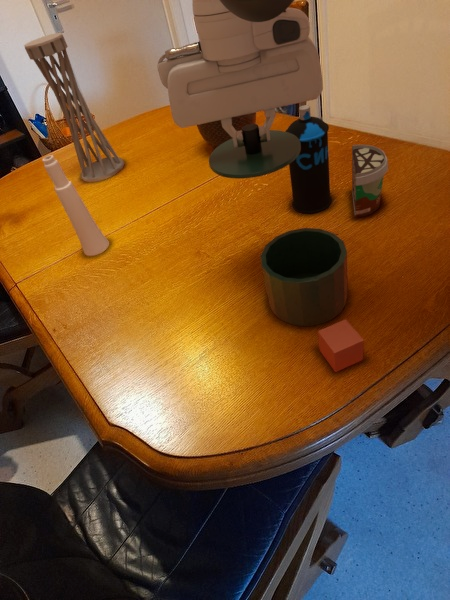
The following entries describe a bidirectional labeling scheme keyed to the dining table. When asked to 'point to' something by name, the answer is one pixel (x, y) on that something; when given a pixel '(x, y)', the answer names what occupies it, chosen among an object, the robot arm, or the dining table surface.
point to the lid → (255, 154)
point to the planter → (217, 134)
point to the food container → (367, 178)
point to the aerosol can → (310, 164)
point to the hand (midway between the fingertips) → (252, 142)
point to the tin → (305, 276)
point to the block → (341, 345)
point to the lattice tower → (101, 166)
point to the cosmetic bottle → (76, 210)
